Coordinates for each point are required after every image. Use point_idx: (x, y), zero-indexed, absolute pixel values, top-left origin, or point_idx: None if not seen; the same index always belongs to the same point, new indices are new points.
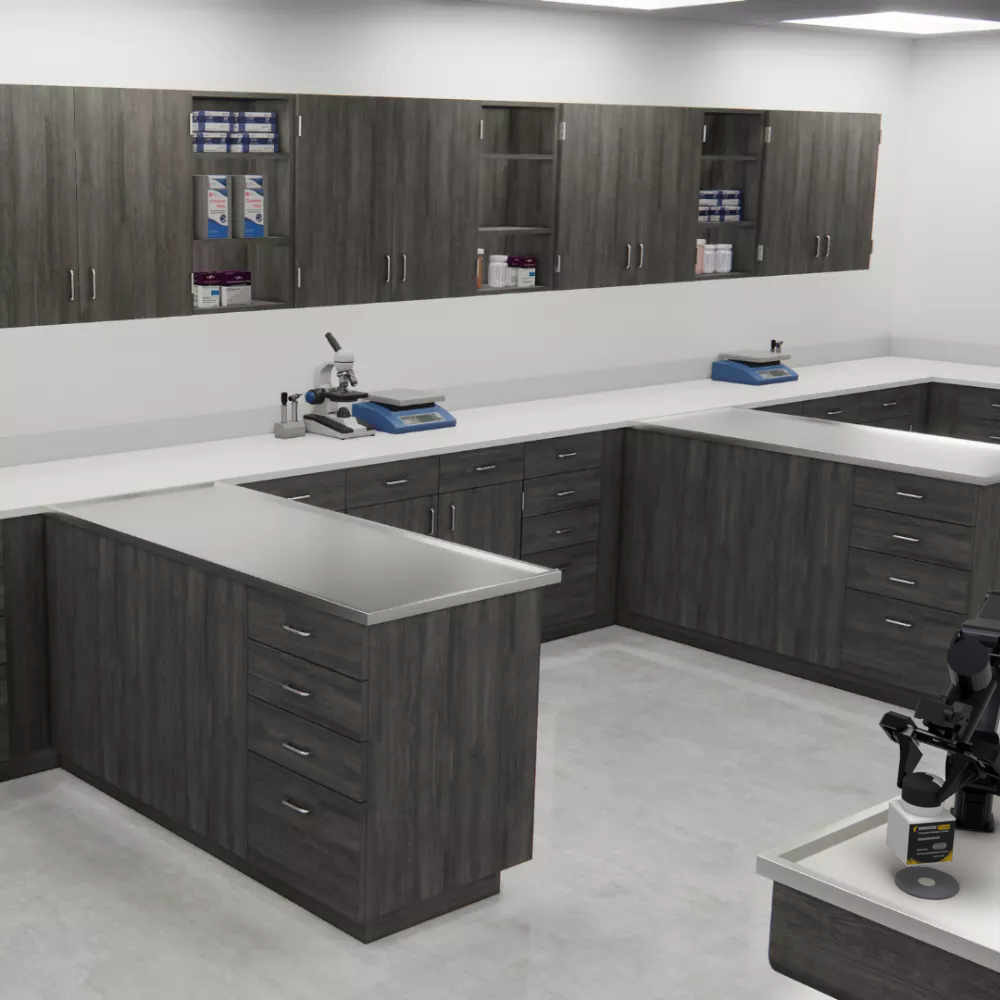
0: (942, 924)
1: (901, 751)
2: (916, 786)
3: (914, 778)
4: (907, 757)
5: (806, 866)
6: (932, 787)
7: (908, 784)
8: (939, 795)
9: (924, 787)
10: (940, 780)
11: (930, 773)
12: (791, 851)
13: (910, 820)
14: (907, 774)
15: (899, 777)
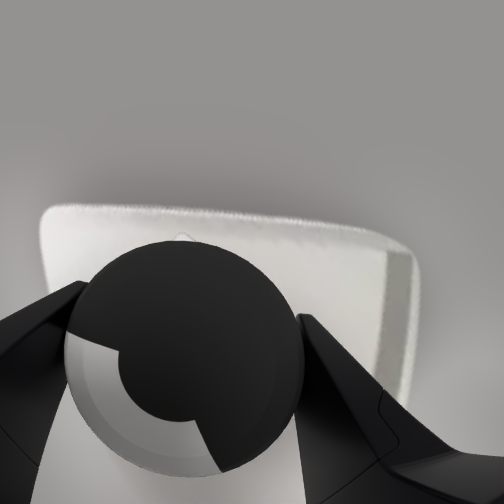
0: (103, 219)
1: (427, 440)
2: (177, 249)
3: (222, 315)
4: (362, 430)
5: (368, 251)
6: (96, 288)
7: (230, 256)
8: (70, 288)
9: (132, 259)
10: (90, 396)
11: (181, 455)
12: (408, 281)
13: (184, 237)
14: (295, 371)
15: (321, 335)
